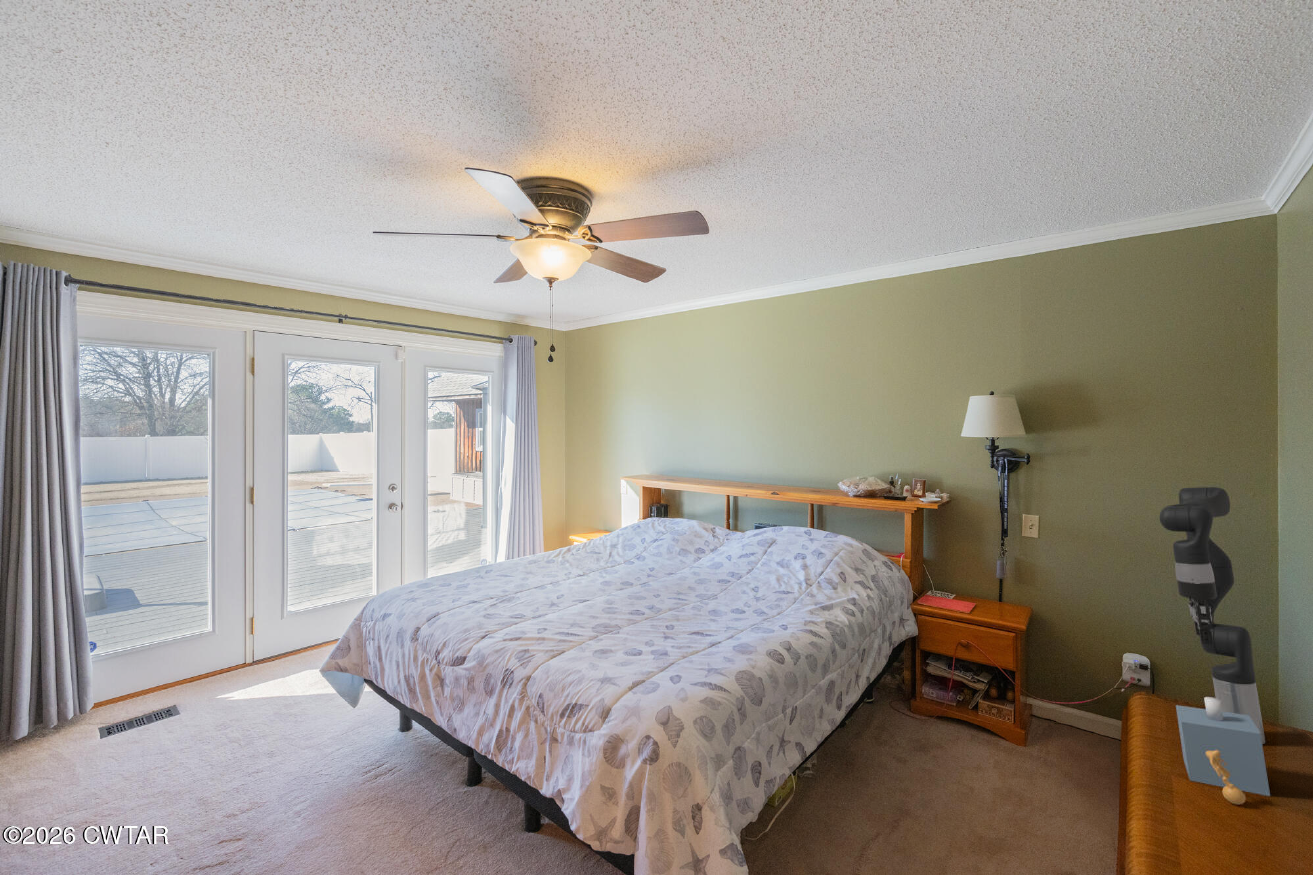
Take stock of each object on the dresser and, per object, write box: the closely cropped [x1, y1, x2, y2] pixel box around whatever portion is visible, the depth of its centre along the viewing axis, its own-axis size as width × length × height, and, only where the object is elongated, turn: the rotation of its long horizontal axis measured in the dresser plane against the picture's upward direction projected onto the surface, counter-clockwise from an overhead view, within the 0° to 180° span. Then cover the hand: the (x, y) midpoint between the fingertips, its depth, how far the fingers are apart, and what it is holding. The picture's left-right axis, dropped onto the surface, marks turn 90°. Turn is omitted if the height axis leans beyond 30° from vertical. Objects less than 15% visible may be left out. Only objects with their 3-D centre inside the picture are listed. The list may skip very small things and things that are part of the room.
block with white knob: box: [1175, 696, 1271, 797], centre depth 148 cm, size 13×15×20 cm
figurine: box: [1206, 750, 1246, 805], centre depth 138 cm, size 8×6×12 cm
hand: (1204, 639), depth 150 cm, fingers open, 8 cm apart
